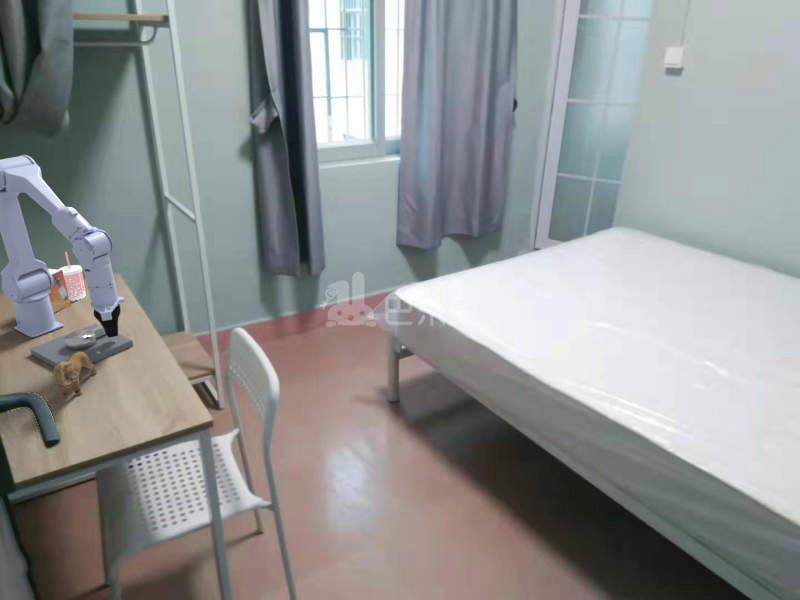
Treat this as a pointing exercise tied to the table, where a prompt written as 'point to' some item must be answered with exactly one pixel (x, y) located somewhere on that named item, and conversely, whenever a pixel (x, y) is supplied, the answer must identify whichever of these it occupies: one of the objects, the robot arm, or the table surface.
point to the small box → (58, 291)
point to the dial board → (101, 349)
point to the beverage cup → (74, 280)
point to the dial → (83, 338)
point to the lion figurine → (71, 372)
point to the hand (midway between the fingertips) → (113, 335)
